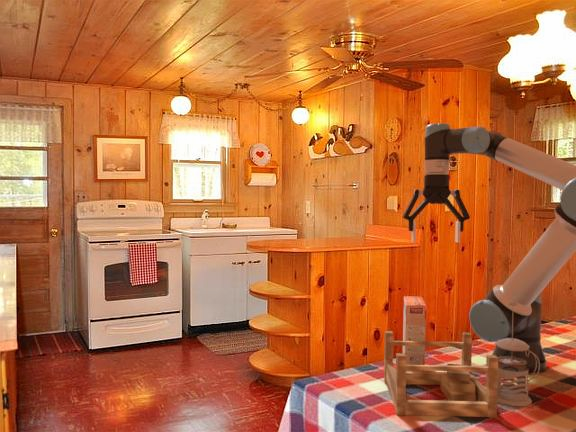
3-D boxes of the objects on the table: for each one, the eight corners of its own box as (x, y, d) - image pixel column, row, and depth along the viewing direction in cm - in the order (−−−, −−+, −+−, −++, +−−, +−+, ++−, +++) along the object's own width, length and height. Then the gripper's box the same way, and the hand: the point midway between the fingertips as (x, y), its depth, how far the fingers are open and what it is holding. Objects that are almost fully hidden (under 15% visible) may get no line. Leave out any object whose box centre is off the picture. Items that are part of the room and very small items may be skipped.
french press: (484, 390, 137) (486, 296, 136) (529, 391, 137) (531, 297, 136) (498, 405, 127) (500, 304, 126) (546, 406, 127) (549, 305, 126)
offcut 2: (463, 382, 137) (463, 373, 137) (475, 394, 129) (475, 384, 129) (441, 382, 137) (441, 373, 137) (451, 394, 129) (451, 384, 129)
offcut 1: (467, 374, 136) (467, 365, 136) (469, 384, 129) (469, 374, 129) (447, 372, 137) (447, 363, 137) (448, 382, 130) (448, 372, 130)
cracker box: (425, 380, 145) (427, 305, 144) (403, 378, 146) (404, 304, 145) (422, 364, 158) (423, 296, 158) (402, 362, 160) (402, 295, 159)
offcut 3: (463, 391, 138) (463, 382, 138) (475, 405, 129) (476, 395, 129) (440, 391, 138) (440, 382, 138) (451, 405, 129) (452, 395, 129)
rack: (468, 383, 142) (469, 332, 142) (496, 417, 121) (498, 357, 120) (384, 381, 144) (384, 331, 143) (396, 414, 122) (397, 355, 121)
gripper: (398, 173, 159) (397, 242, 160) (481, 173, 158) (479, 243, 159) (394, 174, 167) (393, 240, 167) (473, 174, 165) (472, 241, 166)
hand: (435, 242), depth 163 cm, fingers open, 13 cm apart
